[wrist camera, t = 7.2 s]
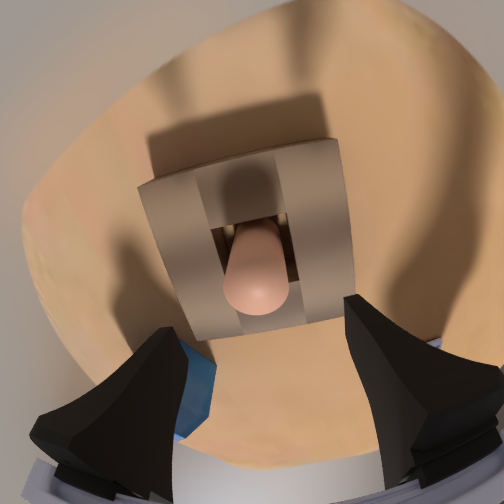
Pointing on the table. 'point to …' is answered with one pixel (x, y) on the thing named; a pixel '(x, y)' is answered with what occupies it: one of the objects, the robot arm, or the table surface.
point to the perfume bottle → (195, 394)
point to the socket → (250, 208)
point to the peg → (256, 269)
